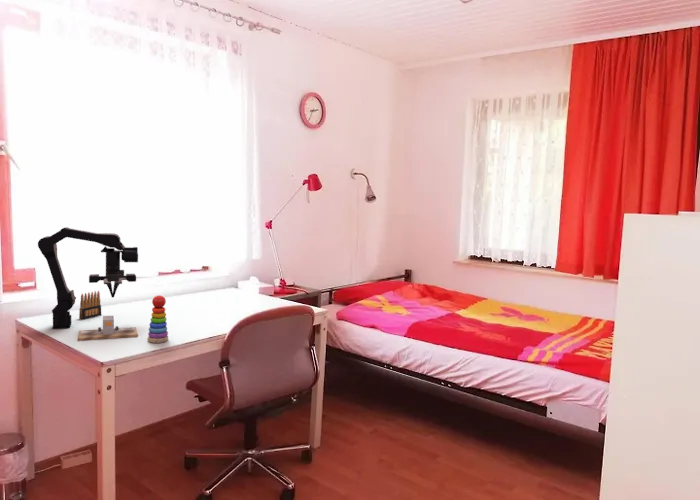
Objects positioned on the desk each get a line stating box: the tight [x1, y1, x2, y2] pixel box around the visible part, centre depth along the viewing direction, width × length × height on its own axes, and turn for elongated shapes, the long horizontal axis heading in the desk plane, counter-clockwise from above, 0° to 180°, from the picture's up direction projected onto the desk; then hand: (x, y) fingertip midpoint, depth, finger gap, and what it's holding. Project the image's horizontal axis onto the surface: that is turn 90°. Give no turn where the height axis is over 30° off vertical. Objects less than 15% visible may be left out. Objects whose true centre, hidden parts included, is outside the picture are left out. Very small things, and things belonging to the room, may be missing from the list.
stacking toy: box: [146, 295, 169, 344], centre depth 209 cm, size 8×8×19 cm
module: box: [102, 315, 115, 335], centre depth 214 cm, size 4×7×6 cm, turn 26°
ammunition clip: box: [78, 290, 102, 321], centre depth 240 cm, size 11×2×12 cm, turn 157°
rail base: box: [77, 325, 139, 342], centre depth 214 cm, size 22×12×3 cm, turn 116°
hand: (112, 297), depth 228 cm, fingers closed
